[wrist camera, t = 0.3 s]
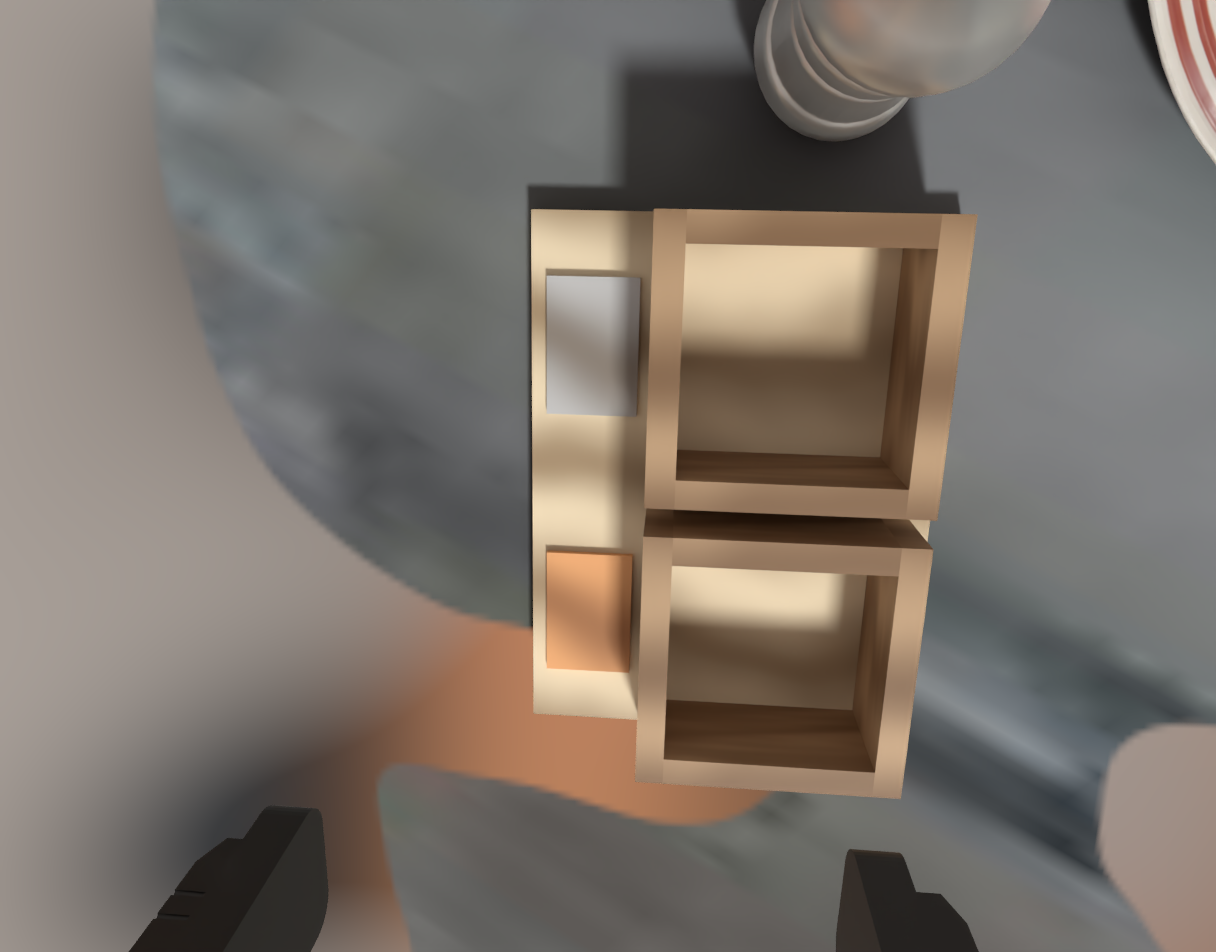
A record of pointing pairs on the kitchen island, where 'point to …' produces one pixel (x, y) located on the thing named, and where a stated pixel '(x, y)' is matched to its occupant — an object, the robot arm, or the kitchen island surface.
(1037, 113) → the kitchen island surface
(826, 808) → the kitchen island surface
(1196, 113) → the dinner plate
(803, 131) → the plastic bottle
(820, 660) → the socket board
